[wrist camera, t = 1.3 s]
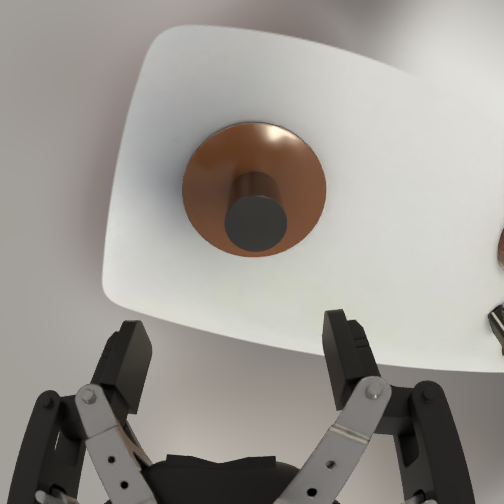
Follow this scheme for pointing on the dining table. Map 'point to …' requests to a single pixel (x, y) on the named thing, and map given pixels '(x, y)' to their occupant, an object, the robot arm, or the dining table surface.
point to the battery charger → (498, 324)
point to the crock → (501, 251)
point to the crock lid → (254, 189)
